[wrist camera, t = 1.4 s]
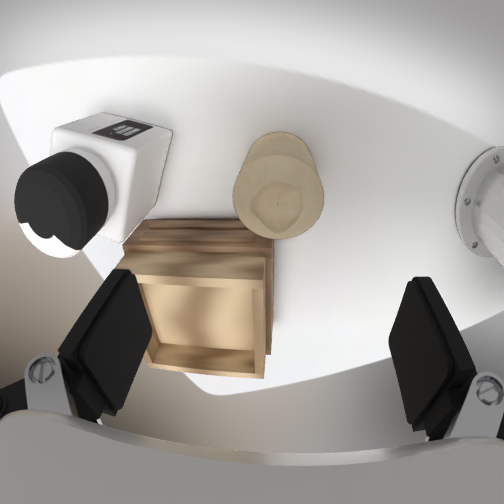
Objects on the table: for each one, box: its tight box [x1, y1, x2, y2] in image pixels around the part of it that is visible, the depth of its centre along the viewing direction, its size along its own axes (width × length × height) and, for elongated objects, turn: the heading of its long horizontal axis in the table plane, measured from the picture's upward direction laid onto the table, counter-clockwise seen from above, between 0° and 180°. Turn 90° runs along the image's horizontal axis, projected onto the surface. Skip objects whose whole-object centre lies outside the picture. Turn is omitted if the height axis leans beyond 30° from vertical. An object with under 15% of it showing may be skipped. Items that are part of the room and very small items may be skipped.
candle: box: [233, 132, 324, 239], centre depth 21 cm, size 6×6×10 cm
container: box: [14, 113, 172, 258], centre depth 21 cm, size 8×8×13 cm
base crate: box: [122, 219, 274, 355], centre depth 30 cm, size 13×13×5 cm
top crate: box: [114, 250, 266, 379], centre depth 27 cm, size 12×12×4 cm
